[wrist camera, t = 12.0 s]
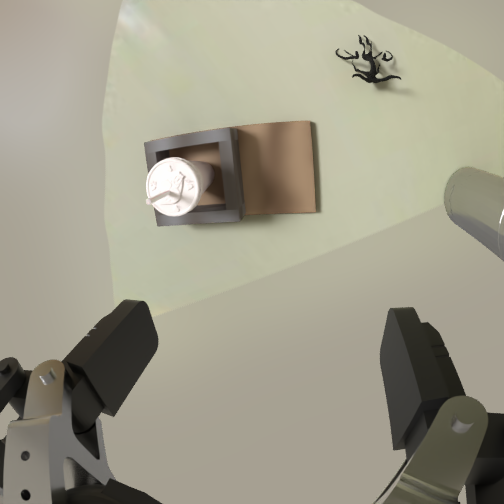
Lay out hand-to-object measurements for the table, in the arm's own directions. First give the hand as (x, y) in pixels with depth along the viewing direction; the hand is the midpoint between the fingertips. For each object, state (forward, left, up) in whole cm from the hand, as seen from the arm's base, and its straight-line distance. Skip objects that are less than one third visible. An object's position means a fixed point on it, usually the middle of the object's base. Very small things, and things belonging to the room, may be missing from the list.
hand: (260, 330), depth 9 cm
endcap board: (+8, -2, -31) cm, 32 cm away
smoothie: (+12, -2, -30) cm, 32 cm away
